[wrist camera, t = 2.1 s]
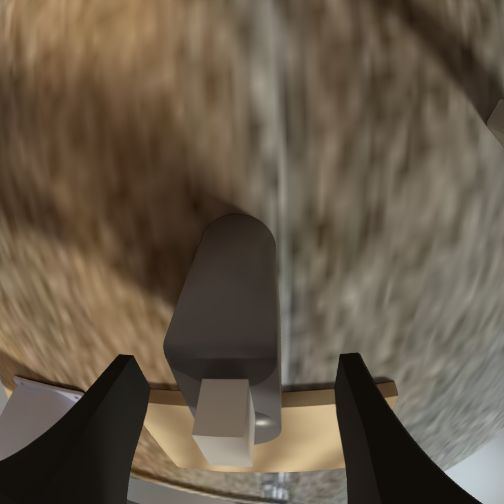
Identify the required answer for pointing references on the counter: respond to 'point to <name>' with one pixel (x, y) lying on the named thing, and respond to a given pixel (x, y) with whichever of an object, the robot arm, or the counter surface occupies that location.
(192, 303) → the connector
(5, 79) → the counter surface
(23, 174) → the counter surface
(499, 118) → the lighter
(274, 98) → the counter surface
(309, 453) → the birch board
